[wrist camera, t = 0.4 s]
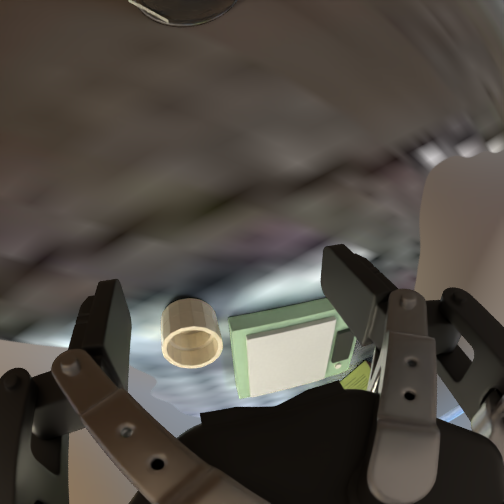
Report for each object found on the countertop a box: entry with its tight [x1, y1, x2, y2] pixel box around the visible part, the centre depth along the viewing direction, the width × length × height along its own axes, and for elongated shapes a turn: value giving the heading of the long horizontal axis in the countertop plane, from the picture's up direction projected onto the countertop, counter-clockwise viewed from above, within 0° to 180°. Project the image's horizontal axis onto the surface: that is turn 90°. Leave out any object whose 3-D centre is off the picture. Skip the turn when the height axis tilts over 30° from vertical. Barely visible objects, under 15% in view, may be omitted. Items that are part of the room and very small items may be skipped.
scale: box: [228, 298, 357, 399], centre depth 39 cm, size 14×17×3 cm
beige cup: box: [161, 298, 223, 368], centre depth 32 cm, size 6×6×5 cm
